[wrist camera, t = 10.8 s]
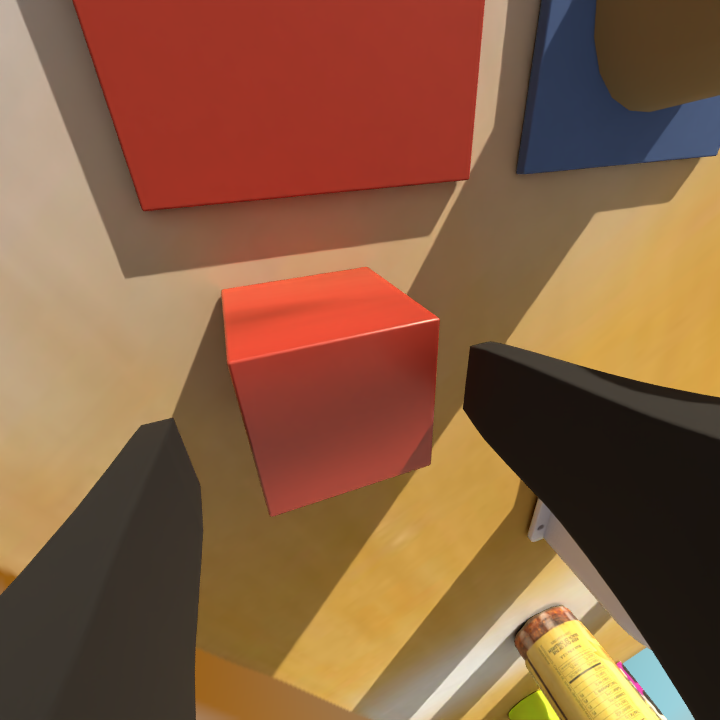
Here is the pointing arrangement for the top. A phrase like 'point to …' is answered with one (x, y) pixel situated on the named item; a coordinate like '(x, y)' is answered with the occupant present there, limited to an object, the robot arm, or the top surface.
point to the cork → (658, 51)
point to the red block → (331, 382)
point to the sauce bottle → (577, 670)
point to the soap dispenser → (533, 709)
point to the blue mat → (597, 106)
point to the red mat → (286, 94)
